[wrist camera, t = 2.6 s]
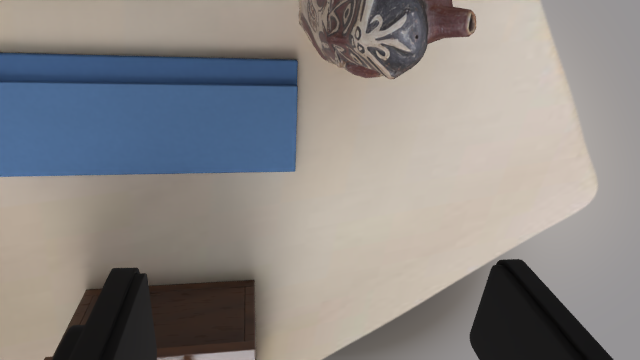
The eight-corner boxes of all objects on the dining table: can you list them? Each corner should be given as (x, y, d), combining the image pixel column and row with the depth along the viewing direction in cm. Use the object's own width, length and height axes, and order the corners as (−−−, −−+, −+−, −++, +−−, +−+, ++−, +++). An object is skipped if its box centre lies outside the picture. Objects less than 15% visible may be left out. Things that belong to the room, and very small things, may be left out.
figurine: (296, -55, 25) (330, -70, 15) (409, -56, 26) (519, -71, 15) (300, 65, 28) (330, 124, 18) (401, 60, 29) (486, 114, 19)
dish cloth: (-34, 51, 25) (-44, 54, 24) (297, 59, 28) (298, 62, 27) (4, 171, 29) (-3, 177, 28) (294, 166, 32) (295, 171, 31)
